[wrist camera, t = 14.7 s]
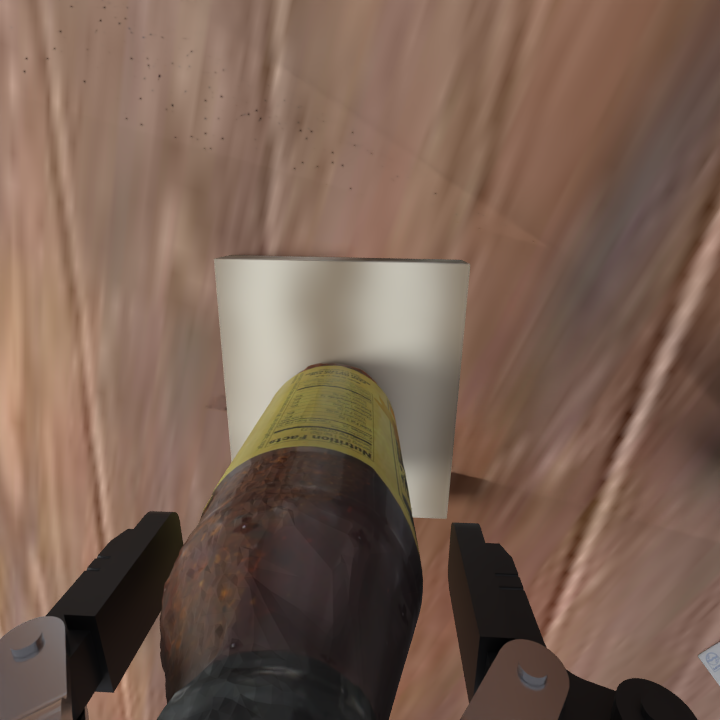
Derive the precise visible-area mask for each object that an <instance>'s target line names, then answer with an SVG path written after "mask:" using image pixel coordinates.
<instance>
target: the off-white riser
mask: <svg viewBox="0 0 720 720" xmlns="http://www.w3.org/2000/svg"><path fill="white" fill-rule="evenodd" d="M214 265H215V276H216V288H217V300H218V311H219V323H220V334H221V346H222V357H223V369H224V380H225V392H226V403H227V415H228V426H229V438H230V449H231V461H233V459H234V458H235V456H236V455H237V453H238V452H239V450H240V449H241V447H242V445H243V444H244V442H245V441H246V439H247V438H248V436H249V435H250V433H251V431H252V430H253V428H254V427H255V425H256V424H257V422H258V421H259V419H260V417H261V416H262V414H263V413H264V411H265V410H266V408H267V407H268V405H269V404H270V402H271V401H272V399H273V397H274V395H275V394H276V393H277V392H278V390H279V389H280V388H281V387H282V386H283V385H284V384H285V383H286V382H287V381H288V380H290V379H291V378H292V377H294V376H295V375H296V374H298V373H299V372H301V371H303V370H304V369H306V368H307V367H308V366H310V365H314V364H318V363H322V364H326V363H327V364H329V363H337V364H343V365H348V366H352V367H355V368H359V369H361V370H363V371H364V372H366V373H367V374H368V375H369V376H370V377H371V378H372V379H373V380H374V381H375V382H376V383H377V385H378V386H379V387H380V388H381V389H382V390H383V392H384V393H385V394H386V396H387V397H388V399H389V401H390V403H391V406H392V408H393V411H394V415H395V420H396V425H397V430H398V436H399V441H400V447H401V454H402V459H403V465H404V469H405V473H406V480H407V485H408V490H409V496H410V503H411V508H412V516H413V517H419V518H441V519H447V509H448V498H449V488H450V477H451V466H452V455H453V445H454V434H455V423H456V412H457V402H458V391H459V380H460V369H461V358H462V348H463V337H464V326H465V315H466V305H467V294H468V283H469V272H470V264H469V263H467V262H465V261H463V260H444V259H394V258H345V257H295V256H245V255H229V256H225V257H220V258H216V259H214Z"/></svg>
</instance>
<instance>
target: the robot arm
mask: <svg viewBox="0 0 720 720" xmlns="http://www.w3.org/2000/svg"><path fill="white" fill-rule="evenodd" d="M182 546H183V540H182V533H181V527H180V520H179V516H178V514H177V513H176V512H155V511H150V512H148V513H147V514H146V515H145V516H144V517H143V518H142V520H141V521H140V522H139V523H138V524H137V526H136V527H135V528H134V529H127V530H126V531H124V532H123V533H121V534H120V535H119V536H117V537H116V538H114V539H113V540H111V541H110V542H109V543H108V544H107V546H106V547H105V548H104V549H103V550H102V551H101V552H100V554H99V555H98V557H97V559H94V561H93V562H92V563H91V564H90V565H89V566H88V568H87V571H84V572H83V573H82V574H81V576H80V577H79V578H78V579H77V580H76V581H75V583H74V584H73V585H72V586H71V587H70V588H69V590H68V591H67V592H66V593H65V594H64V595H63V596H62V598H61V599H60V600H59V601H58V602H57V603H56V605H55V606H54V607H53V608H52V609H51V610H50V612H49V613H48V614H47V615H46V616H45V617H39V618H35V619H32V620H29V621H27V622H25V623H22V624H21V625H19V626H17V627H15V628H14V629H12V630H11V631H9V632H8V633H7V634H6V635H4V636H3V637H2V638H1V639H0V720H89V716H88V709H87V703H88V702H89V700H90V698H91V697H92V695H93V694H94V692H112V693H114V691H115V689H116V688H117V686H118V684H119V682H120V681H121V679H122V677H123V675H124V674H125V672H126V670H127V669H128V667H129V665H130V663H131V662H132V660H133V658H134V656H135V655H136V653H137V651H138V650H139V648H140V646H141V644H142V643H143V641H144V639H145V637H146V636H147V634H148V632H149V631H150V629H151V627H152V625H153V624H154V622H155V620H156V618H157V617H158V615H159V613H160V612H161V610H162V597H163V593H164V584H165V582H166V581H167V579H168V578H169V576H170V574H171V571H172V569H173V567H174V563H175V561H176V559H177V558H178V556H179V552H180V549H181V548H182ZM448 582H449V591H450V597H451V602H452V608H453V614H454V619H455V625H456V631H457V637H458V642H459V648H460V654H461V659H462V665H463V671H464V677H465V682H466V688H467V694H468V699H469V705H468V707H467V708H466V710H465V712H464V714H463V715H462V717H461V719H460V720H697V718H696V717H695V715H694V714H693V712H692V711H691V710H690V709H689V707H688V706H687V705H686V704H685V703H684V702H683V701H682V700H681V699H680V698H678V697H677V696H676V695H675V694H674V693H672V692H671V691H669V690H668V689H666V688H664V687H663V686H661V685H659V684H657V683H654V682H652V681H649V680H645V679H640V678H632V679H627V680H625V681H623V682H622V683H620V684H619V686H618V687H617V690H616V691H614V690H611V689H609V688H606V687H603V686H600V685H597V684H595V683H592V682H589V681H586V680H584V679H581V678H579V677H577V676H575V675H574V674H572V673H570V672H569V671H568V670H566V669H565V667H564V665H563V664H562V662H561V661H560V660H559V658H558V657H557V656H556V655H555V654H554V653H553V652H551V651H550V650H549V649H547V648H546V645H545V643H544V641H543V638H542V636H541V633H540V630H539V628H538V625H537V622H536V620H535V617H534V614H533V612H532V609H531V607H530V604H529V601H528V599H527V596H526V593H525V591H524V590H523V585H522V583H521V580H520V578H519V577H518V572H517V570H516V567H515V564H514V562H513V559H512V557H511V556H510V555H509V554H508V553H507V552H506V551H505V550H504V548H503V547H502V546H501V545H500V544H494V543H485V541H484V537H483V534H482V531H481V528H480V525H479V524H475V523H452V525H451V535H450V548H449V562H448Z"/></svg>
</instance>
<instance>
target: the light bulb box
mask: <svg viewBox="0 0 720 720" xmlns="http://www.w3.org/2000/svg"><path fill="white" fill-rule="evenodd" d="M698 657H699V659H700V660H701V661H702V663H703V664H704V665H705V667H706V668H707V669H708V671H709V672H710V674H711V675H712V676H713V678H714V679H715V680H716V682H717V683H718V685H719V686H720V642H718V643H717V644H715V645H713V646H712V647H710V648H709V649H707V650H706V651H704V652H702V653H701V654H699V655H698Z"/></svg>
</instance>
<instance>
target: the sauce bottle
mask: <svg viewBox="0 0 720 720" xmlns="http://www.w3.org/2000/svg"><path fill="white" fill-rule="evenodd" d="M422 593H423V576H422V567H421V561H420V555H419V549H418V543H417V538H416V532H415V527H414V522H413V516H412V508H411V503H410V496H409V490H408V485H407V480H406V473H405V469H404V465H403V459H402V454H401V447H400V441H399V436H398V430H397V425H396V420H395V415H394V411H393V408H392V406H391V403H390V401H389V399H388V397H387V396H386V394H385V393H384V392H383V390H382V389H381V388H380V387H379V386H378V385H377V383H376V382H375V381H374V380H373V379H372V378H371V377H370V376H369V375H368V374H367V373H366V372H364V371H363V370H361V369H359V368H355V367H352V366H348V365H343V364H337V363H329V364H327V363H326V364H322V363H318V364H314V365H310V366H308V367H307V368H306V369H304V370H303V371H301V372H299V373H298V374H296V375H295V376H294V377H292V378H291V379H290V380H288V381H287V382H286V383H285V384H284V385H283V386H282V387H281V388H280V389H279V390H278V392H277V393H276V394H275V395H274V397H273V399H272V401H271V402H270V404H269V405H268V407H267V408H266V410H265V411H264V413H263V414H262V416H261V417H260V419H259V421H258V422H257V424H256V425H255V427H254V428H253V430H252V431H251V433H250V435H249V436H248V438H247V439H246V441H245V442H244V444H243V445H242V447H241V449H240V450H239V452H238V453H237V455H236V456H235V458H234V459H233V461H232V463H231V464H230V466H229V467H228V469H227V470H226V472H225V474H224V475H223V477H222V478H221V480H220V481H219V483H218V484H217V486H216V488H215V489H214V491H213V493H212V497H211V498H210V500H209V502H208V503H207V505H206V507H205V508H204V510H203V513H202V516H201V519H200V522H199V524H198V526H197V527H196V528H195V529H194V530H193V532H192V533H191V534H190V536H189V537H188V539H187V541H186V542H185V544H184V545H183V546H182V548H181V549H180V552H179V556H178V558H177V559H176V561H175V563H174V567H173V569H172V571H171V574H170V576H169V578H168V579H167V581H166V582H165V584H164V593H163V597H162V610H161V615H160V632H161V641H160V648H161V652H160V656H161V662H162V668H163V670H164V672H165V678H166V684H165V687H166V698H167V705H166V706H165V708H164V709H163V711H162V712H161V714H160V715H159V717H158V718H157V720H389V717H390V713H391V710H392V706H393V703H394V699H395V696H396V692H397V688H398V685H399V681H400V678H401V675H402V671H403V668H404V664H405V661H406V658H407V654H408V651H409V648H410V644H411V641H412V637H413V634H414V630H415V627H416V623H417V620H418V616H419V612H420V608H421V603H422Z"/></svg>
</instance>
